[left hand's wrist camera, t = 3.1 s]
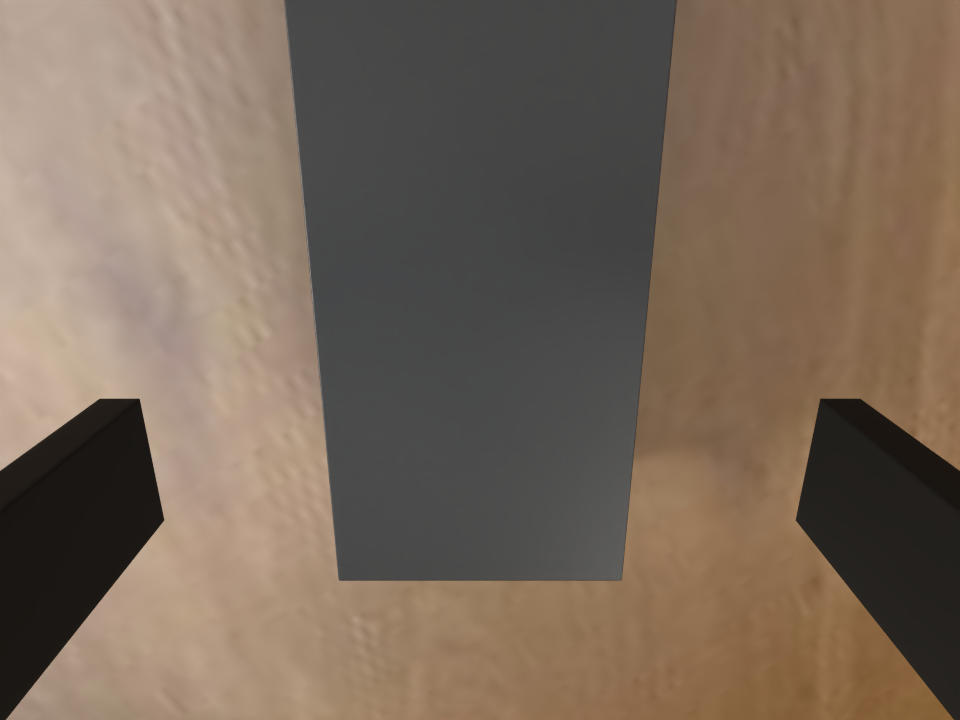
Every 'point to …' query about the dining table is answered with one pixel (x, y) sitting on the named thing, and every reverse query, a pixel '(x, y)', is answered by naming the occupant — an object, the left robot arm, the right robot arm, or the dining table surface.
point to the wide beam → (480, 274)
